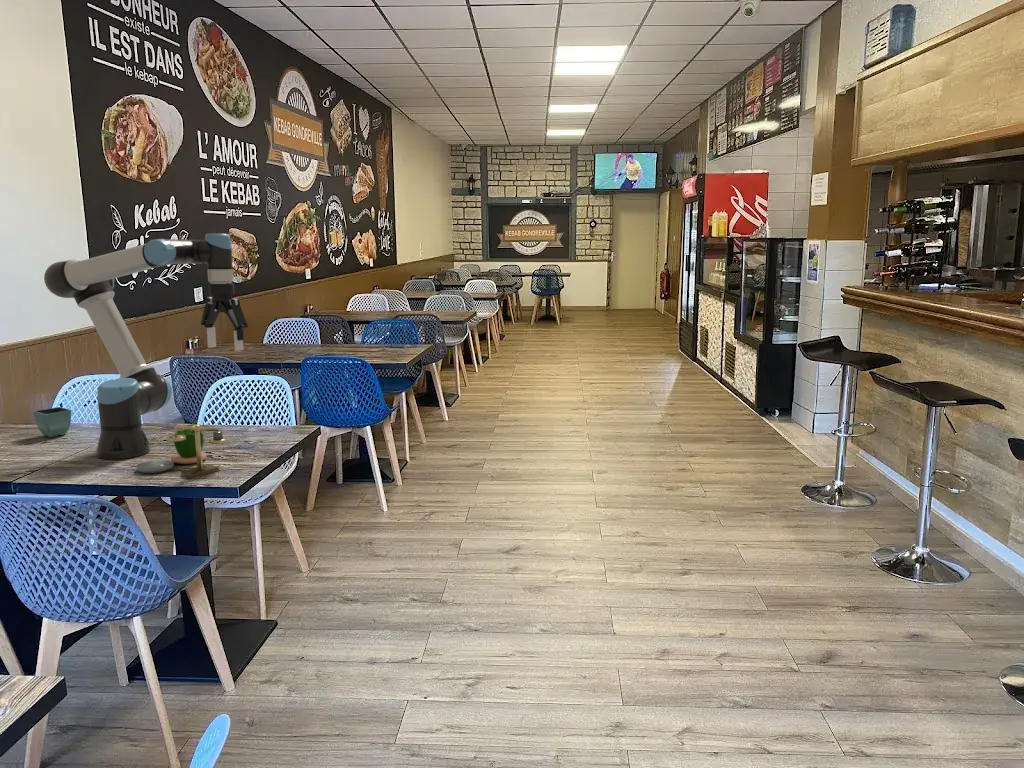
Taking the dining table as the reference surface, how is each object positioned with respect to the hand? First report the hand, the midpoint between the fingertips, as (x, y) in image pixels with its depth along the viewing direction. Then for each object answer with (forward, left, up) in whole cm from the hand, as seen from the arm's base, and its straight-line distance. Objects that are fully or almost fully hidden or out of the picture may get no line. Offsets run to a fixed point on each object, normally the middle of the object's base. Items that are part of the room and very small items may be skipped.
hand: (225, 348), depth 241 cm
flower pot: (-64, -24, -33) cm, 76 cm away
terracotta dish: (+3, -18, -33) cm, 37 cm away
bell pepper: (+4, -18, -31) cm, 36 cm away
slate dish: (+3, -29, -33) cm, 44 cm away
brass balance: (+17, -24, -33) cm, 44 cm away
